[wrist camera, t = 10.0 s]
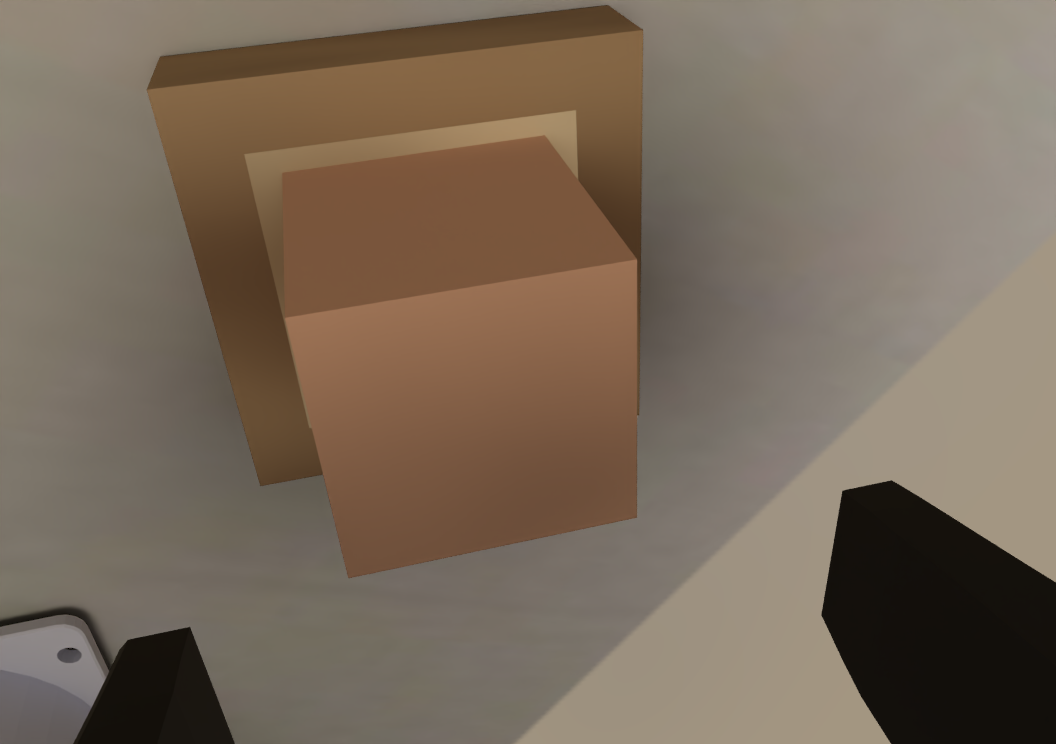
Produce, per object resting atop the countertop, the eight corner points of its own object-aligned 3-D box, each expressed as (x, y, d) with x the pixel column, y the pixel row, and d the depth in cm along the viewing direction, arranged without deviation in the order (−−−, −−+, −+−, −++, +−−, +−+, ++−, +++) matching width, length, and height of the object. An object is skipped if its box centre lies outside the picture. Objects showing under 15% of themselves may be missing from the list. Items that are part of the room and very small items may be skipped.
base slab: (611, 366, 22) (639, 415, 20) (262, 428, 20) (260, 486, 19) (608, 5, 17) (642, 30, 15) (159, 56, 16) (146, 89, 14)
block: (556, 353, 19) (636, 517, 14) (331, 393, 18) (348, 578, 14) (544, 135, 16) (637, 259, 12) (281, 172, 15) (284, 317, 11)
